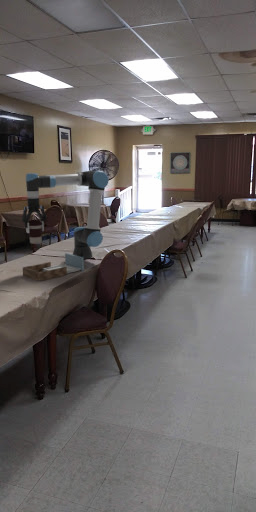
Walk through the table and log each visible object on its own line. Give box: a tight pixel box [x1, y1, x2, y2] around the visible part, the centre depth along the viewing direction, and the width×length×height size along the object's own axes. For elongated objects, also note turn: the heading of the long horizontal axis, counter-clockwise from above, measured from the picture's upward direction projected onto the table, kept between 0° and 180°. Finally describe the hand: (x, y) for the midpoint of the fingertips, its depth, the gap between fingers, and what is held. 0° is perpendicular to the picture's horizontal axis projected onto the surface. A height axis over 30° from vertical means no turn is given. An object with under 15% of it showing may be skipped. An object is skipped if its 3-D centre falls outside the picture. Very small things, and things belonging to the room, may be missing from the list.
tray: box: [42, 252, 85, 274], centre depth 258 cm, size 21×19×9 cm
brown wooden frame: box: [22, 261, 68, 282], centre depth 250 cm, size 20×19×5 cm
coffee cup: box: [28, 219, 43, 245], centre depth 257 cm, size 10×10×15 cm
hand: (35, 231), depth 257 cm, fingers closed on coffee cup, 10 cm apart
